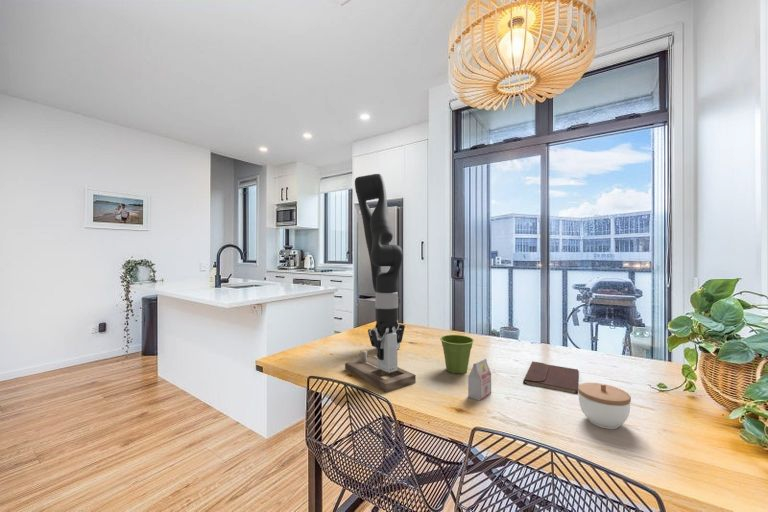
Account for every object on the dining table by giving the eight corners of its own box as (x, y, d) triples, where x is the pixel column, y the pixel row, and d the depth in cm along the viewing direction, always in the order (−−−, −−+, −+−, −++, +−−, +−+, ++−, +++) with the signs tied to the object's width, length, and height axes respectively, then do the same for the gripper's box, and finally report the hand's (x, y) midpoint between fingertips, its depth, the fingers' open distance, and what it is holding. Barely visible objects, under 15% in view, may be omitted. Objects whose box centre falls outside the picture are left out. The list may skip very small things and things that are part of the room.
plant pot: (435, 373, 112) (435, 340, 112) (445, 362, 123) (445, 333, 122) (469, 379, 107) (469, 345, 106) (477, 367, 117) (477, 336, 117)
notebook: (578, 374, 112) (578, 368, 112) (577, 395, 95) (577, 388, 95) (531, 366, 120) (531, 360, 120) (523, 384, 103) (523, 378, 103)
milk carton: (468, 396, 94) (468, 362, 94) (479, 389, 99) (479, 356, 99) (479, 400, 91) (479, 365, 91) (491, 393, 96) (491, 359, 96)
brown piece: (372, 362, 123) (372, 346, 123) (415, 382, 104) (415, 364, 104) (345, 369, 116) (345, 352, 116) (386, 392, 97) (385, 372, 97)
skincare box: (398, 370, 105) (398, 333, 105) (387, 373, 102) (387, 335, 102) (386, 365, 110) (386, 329, 110) (375, 368, 107) (375, 331, 107)
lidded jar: (608, 411, 85) (608, 375, 85) (642, 434, 74) (642, 393, 74) (568, 412, 85) (568, 376, 84) (597, 435, 74) (597, 394, 74)
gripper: (396, 302, 113) (396, 351, 113) (362, 306, 104) (362, 359, 104) (410, 305, 107) (410, 356, 107) (375, 309, 98) (375, 365, 98)
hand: (386, 357), depth 106 cm, fingers closed on skincare box, 4 cm apart
